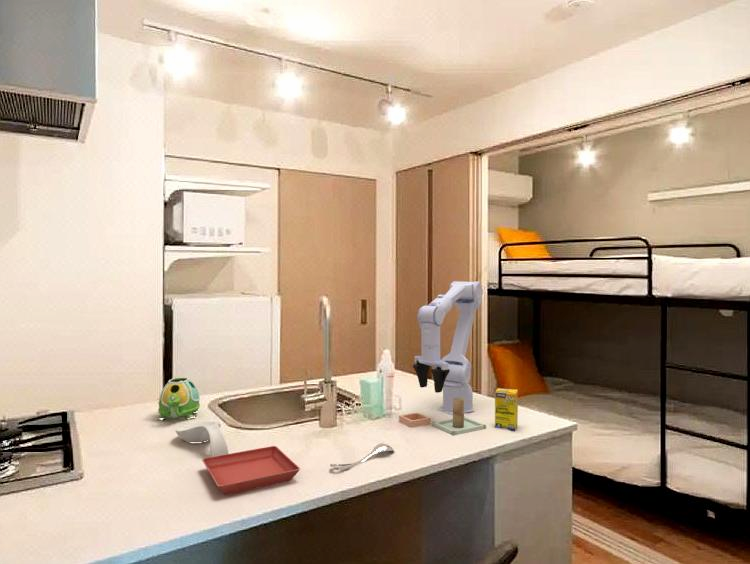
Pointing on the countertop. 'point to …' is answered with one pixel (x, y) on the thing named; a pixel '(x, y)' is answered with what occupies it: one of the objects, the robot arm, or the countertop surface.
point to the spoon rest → (205, 436)
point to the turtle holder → (178, 399)
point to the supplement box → (506, 409)
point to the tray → (468, 427)
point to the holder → (414, 420)
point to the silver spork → (377, 449)
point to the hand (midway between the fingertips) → (430, 389)
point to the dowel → (458, 412)
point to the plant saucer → (250, 469)
